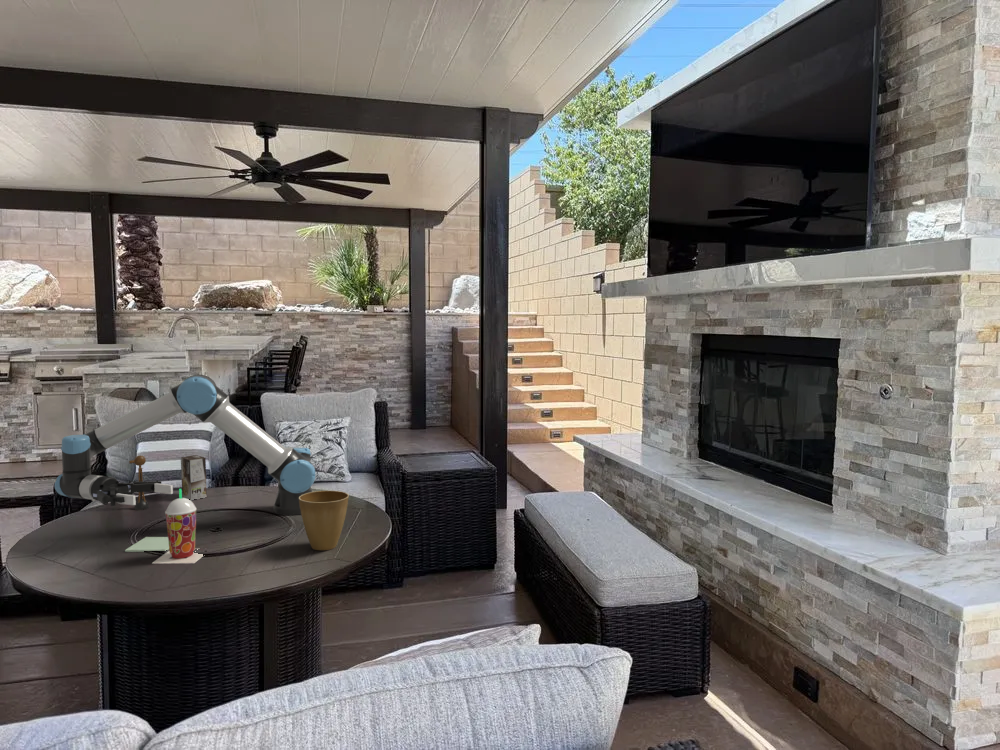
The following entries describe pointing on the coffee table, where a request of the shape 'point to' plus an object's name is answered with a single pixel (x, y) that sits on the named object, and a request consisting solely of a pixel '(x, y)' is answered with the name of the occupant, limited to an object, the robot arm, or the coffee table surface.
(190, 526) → the smoothie
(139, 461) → the wooden tabletop sculpture
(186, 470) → the coffee box
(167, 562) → the tile
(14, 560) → the coffee table surface
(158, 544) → the coaster
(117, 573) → the coffee table surface
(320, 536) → the plant pot
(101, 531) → the coffee table surface
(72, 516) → the coffee table surface
